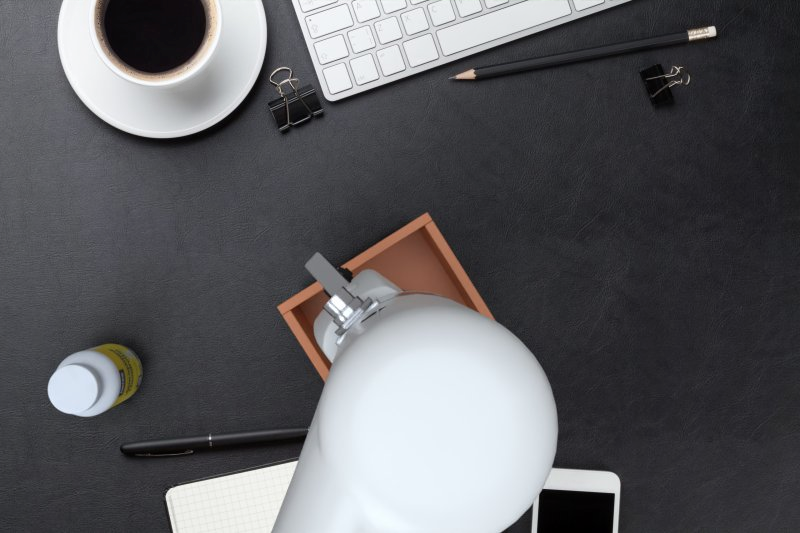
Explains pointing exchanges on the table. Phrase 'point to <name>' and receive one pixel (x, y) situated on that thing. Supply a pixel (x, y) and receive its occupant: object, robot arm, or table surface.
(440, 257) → the bin
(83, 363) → the pill bottle
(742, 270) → the table surface
